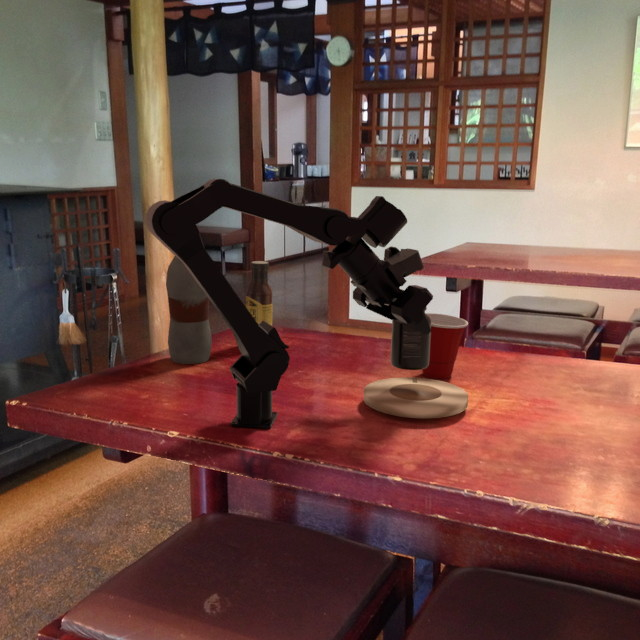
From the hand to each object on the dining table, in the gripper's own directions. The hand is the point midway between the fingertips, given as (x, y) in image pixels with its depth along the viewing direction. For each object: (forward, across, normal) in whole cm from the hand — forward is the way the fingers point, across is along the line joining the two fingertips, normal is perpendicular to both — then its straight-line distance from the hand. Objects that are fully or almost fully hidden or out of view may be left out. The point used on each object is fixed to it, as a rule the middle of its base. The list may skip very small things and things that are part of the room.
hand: (418, 328), depth 117 cm
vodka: (-12, +42, +32) cm, 54 cm away
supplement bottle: (+4, 0, +6) cm, 7 cm away
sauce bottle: (0, +48, +19) cm, 52 cm away
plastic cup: (+19, +12, 0) cm, 22 cm away
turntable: (+8, -2, +10) cm, 14 cm away
